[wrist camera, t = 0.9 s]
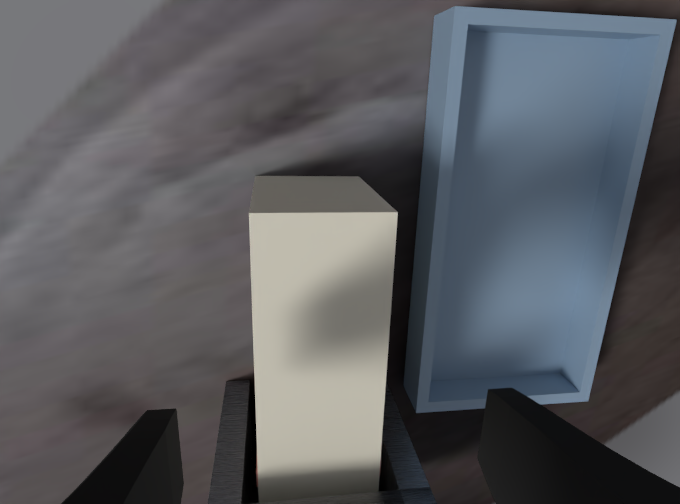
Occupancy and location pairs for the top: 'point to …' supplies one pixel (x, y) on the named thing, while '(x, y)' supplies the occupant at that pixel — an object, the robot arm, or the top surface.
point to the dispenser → (242, 497)
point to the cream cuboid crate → (319, 333)
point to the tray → (526, 198)
